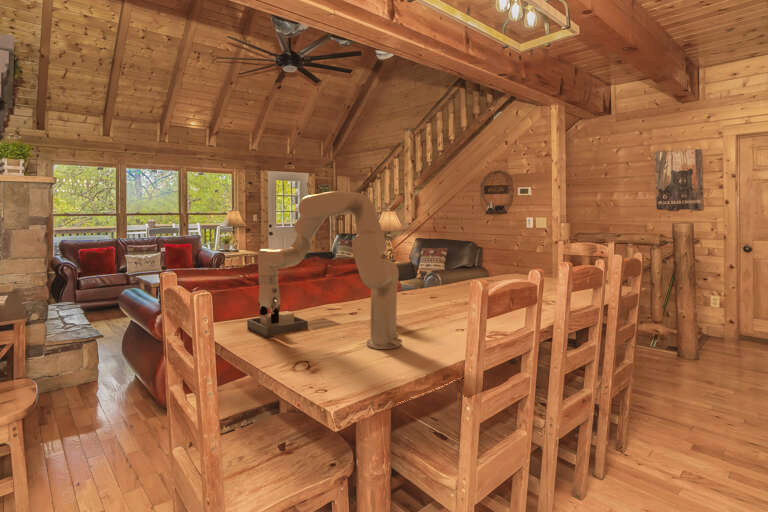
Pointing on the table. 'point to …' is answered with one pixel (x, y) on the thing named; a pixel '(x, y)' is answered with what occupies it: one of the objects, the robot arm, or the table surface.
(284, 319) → the peach cube
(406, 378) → the table surface
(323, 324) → the walnut board
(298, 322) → the charcoal bin
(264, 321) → the beige cube
